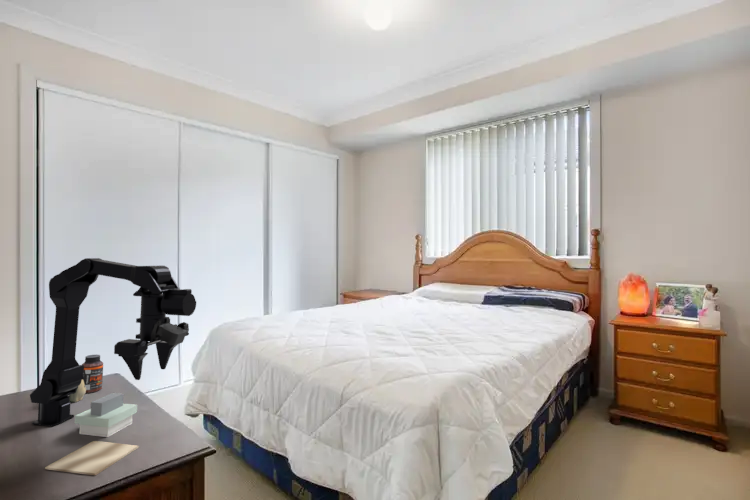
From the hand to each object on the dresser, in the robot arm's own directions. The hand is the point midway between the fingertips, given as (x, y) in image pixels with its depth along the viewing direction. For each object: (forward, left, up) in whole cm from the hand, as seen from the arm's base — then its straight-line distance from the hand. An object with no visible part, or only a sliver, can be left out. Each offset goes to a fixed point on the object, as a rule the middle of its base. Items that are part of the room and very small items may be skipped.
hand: (150, 374), depth 101 cm
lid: (-11, -1, -12) cm, 16 cm away
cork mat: (-2, -14, -15) cm, 20 cm away
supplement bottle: (-38, +22, -15) cm, 47 cm away
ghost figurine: (-36, +14, -15) cm, 42 cm away
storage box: (-11, -1, -15) cm, 19 cm away
